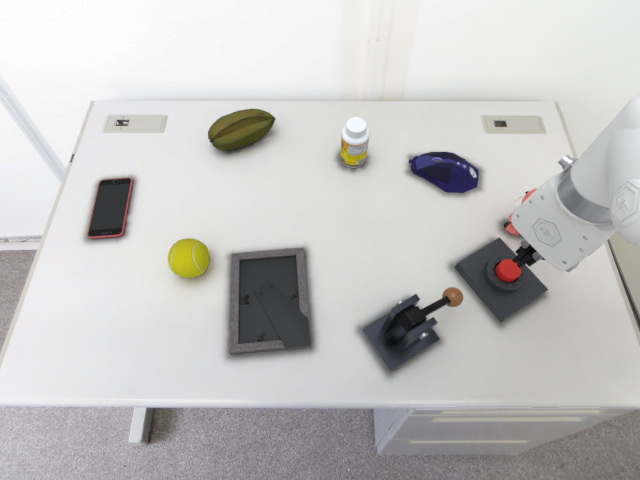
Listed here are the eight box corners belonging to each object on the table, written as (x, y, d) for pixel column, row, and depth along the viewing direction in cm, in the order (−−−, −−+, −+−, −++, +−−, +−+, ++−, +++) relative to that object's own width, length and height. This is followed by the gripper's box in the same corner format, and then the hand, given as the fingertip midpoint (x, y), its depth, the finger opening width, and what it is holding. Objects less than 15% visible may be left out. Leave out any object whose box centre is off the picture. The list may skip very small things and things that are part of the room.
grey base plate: (542, 293, 67) (554, 285, 63) (499, 322, 64) (510, 315, 61) (494, 242, 72) (503, 232, 68) (454, 267, 69) (460, 258, 66)
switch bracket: (409, 301, 66) (425, 276, 56) (438, 340, 63) (460, 321, 53) (362, 330, 64) (369, 309, 54) (389, 372, 61) (402, 359, 50)
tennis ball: (172, 283, 69) (157, 268, 62) (179, 249, 72) (166, 231, 66) (211, 283, 68) (199, 268, 62) (216, 249, 72) (206, 231, 65)
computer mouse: (476, 198, 76) (484, 186, 73) (403, 183, 78) (407, 171, 75) (479, 163, 80) (487, 150, 77) (410, 149, 82) (414, 137, 79)
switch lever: (446, 291, 63) (457, 280, 61) (459, 306, 62) (471, 297, 60) (393, 318, 56) (404, 307, 53) (406, 336, 54) (418, 326, 52)
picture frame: (310, 347, 63) (303, 251, 71) (310, 344, 61) (303, 246, 69) (231, 354, 62) (233, 256, 71) (228, 352, 61) (231, 252, 69)
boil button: (521, 275, 64) (525, 272, 63) (505, 286, 64) (509, 282, 62) (506, 259, 66) (510, 255, 64) (490, 269, 65) (494, 265, 64)
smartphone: (132, 176, 79) (122, 235, 73) (134, 178, 80) (123, 236, 73) (99, 179, 79) (85, 238, 72) (100, 181, 79) (87, 239, 73)
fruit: (232, 116, 88) (225, 93, 82) (279, 130, 86) (275, 107, 80) (208, 152, 83) (199, 130, 77) (257, 167, 81) (251, 146, 75)
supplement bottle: (342, 147, 83) (344, 111, 74) (367, 151, 82) (372, 115, 73) (338, 167, 80) (339, 132, 71) (363, 171, 80) (368, 137, 71)
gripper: (523, 161, 45) (471, 235, 62) (629, 256, 39) (540, 311, 55) (567, 137, 47) (505, 215, 63) (675, 224, 41) (576, 286, 57)
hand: (522, 259), depth 59 cm, fingers closed
